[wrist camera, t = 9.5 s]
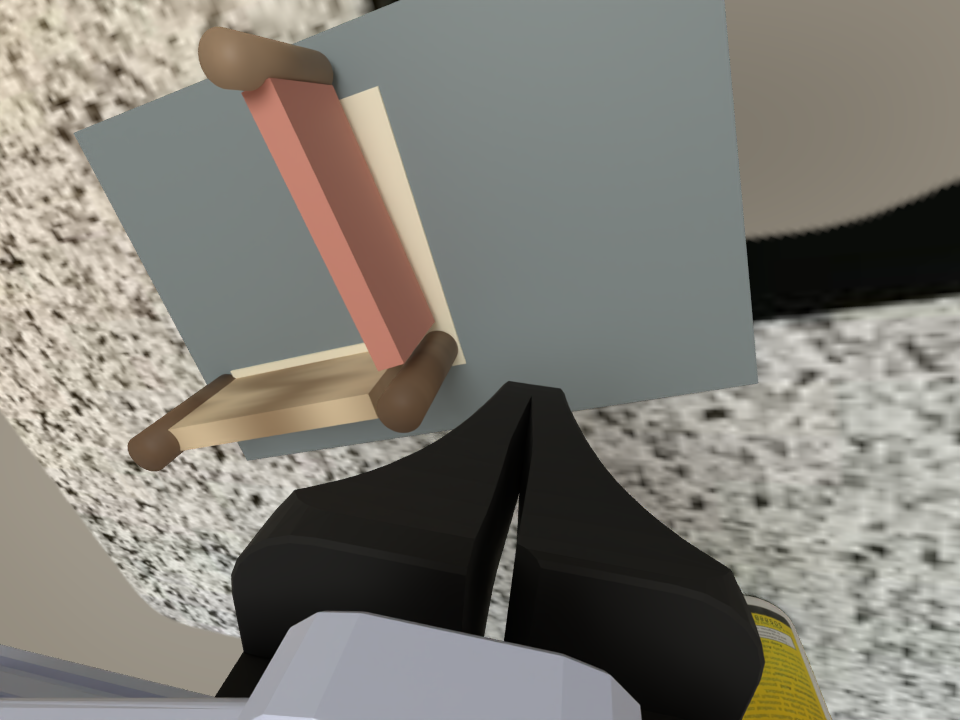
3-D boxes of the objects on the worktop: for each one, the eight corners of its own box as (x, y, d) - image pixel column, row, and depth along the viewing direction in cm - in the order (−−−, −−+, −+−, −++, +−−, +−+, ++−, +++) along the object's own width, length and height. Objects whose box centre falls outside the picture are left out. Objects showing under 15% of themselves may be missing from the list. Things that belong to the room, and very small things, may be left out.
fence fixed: (230, 401, 26) (141, 473, 21) (215, 373, 25) (120, 439, 20) (465, 356, 22) (429, 429, 17) (454, 322, 22) (413, 387, 17)
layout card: (251, 456, 27) (246, 461, 27) (81, 132, 21) (71, 133, 21) (755, 378, 20) (758, 384, 20) (710, -122, 15) (713, -129, 14)
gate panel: (440, 319, 21) (400, 374, 16) (409, 328, 21) (363, 385, 17) (321, 42, 17) (229, 16, 13) (287, 60, 18) (188, 41, 13)
